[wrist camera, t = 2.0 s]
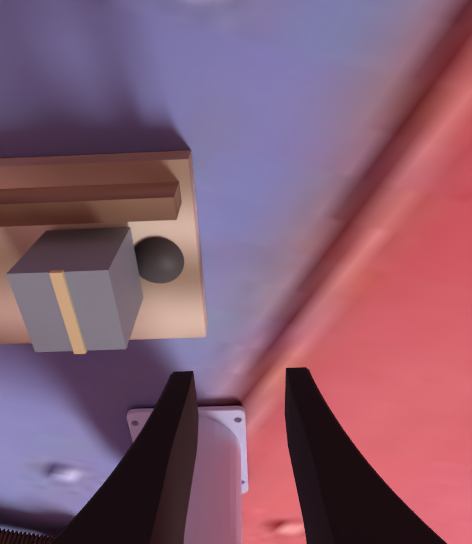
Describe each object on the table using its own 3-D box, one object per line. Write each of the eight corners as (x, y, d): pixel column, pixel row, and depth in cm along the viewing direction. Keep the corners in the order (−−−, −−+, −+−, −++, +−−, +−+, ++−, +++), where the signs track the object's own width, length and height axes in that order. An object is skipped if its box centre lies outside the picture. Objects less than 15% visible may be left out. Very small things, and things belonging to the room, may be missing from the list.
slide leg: (143, 298, 22) (125, 352, 18) (67, 301, 22) (34, 355, 18) (130, 226, 20) (107, 270, 16) (45, 229, 20) (3, 274, 16)
